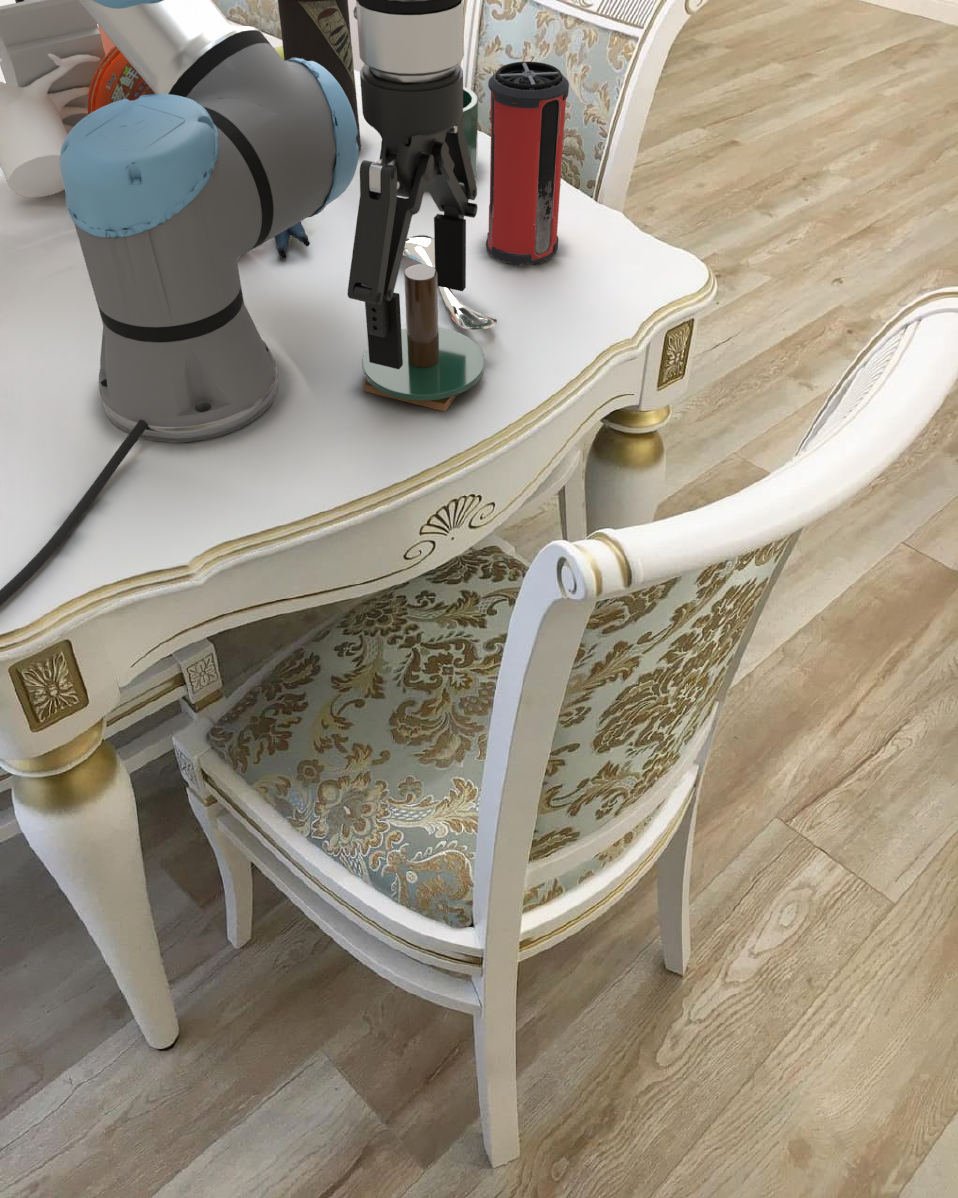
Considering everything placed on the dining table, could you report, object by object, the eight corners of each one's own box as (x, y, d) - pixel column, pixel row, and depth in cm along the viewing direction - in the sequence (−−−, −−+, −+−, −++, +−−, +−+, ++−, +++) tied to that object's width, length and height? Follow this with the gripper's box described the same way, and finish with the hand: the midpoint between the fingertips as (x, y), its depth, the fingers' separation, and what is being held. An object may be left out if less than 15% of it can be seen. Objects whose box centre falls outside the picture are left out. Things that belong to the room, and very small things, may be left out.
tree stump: (63, 166, 129) (88, 225, 129) (-98, 155, 114) (-69, 222, 114) (137, 61, 116) (165, 127, 115) (-35, 34, 101) (-3, 109, 101)
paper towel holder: (456, 418, 89) (455, 317, 82) (341, 389, 91) (331, 289, 84) (502, 352, 96) (505, 255, 89) (394, 327, 98) (389, 231, 92)
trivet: (445, 411, 91) (445, 404, 90) (363, 391, 93) (362, 383, 92) (479, 364, 96) (479, 357, 95) (401, 346, 98) (400, 338, 97)
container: (351, 166, 125) (337, -20, 111) (280, 159, 126) (257, -26, 112) (371, 137, 131) (359, -43, 117) (303, 130, 132) (283, -49, 118)
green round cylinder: (456, 197, 120) (456, 122, 113) (375, 181, 122) (370, 107, 116) (489, 162, 126) (491, 89, 120) (412, 148, 129) (409, 76, 123)
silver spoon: (510, 301, 96) (464, 311, 95) (510, 335, 98) (464, 346, 97) (426, 221, 109) (385, 230, 108) (428, 254, 112) (387, 263, 110)
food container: (196, 36, 106) (138, -8, 110) (108, 167, 108) (54, 119, 112) (284, 120, 120) (230, 78, 124) (205, 233, 123) (154, 189, 127)
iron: (-5, 46, 104) (-62, -97, 103) (34, 159, 127) (-12, 43, 127) (102, 23, 107) (48, -116, 106) (121, 138, 130) (76, 24, 129)
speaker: (481, 235, 113) (483, 59, 100) (550, 231, 114) (561, 56, 101) (491, 269, 108) (494, 89, 95) (563, 265, 109) (576, 85, 96)
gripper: (433, 5, 84) (437, 250, 99) (279, 117, 68) (313, 389, 83) (520, 18, 82) (510, 266, 97) (383, 136, 66) (398, 411, 81)
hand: (419, 323), depth 90 cm, fingers open, 13 cm apart
